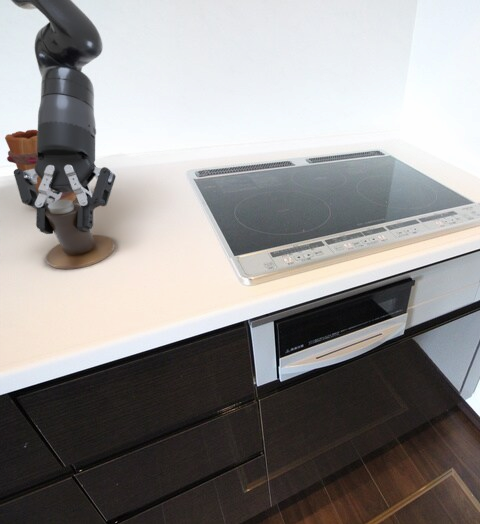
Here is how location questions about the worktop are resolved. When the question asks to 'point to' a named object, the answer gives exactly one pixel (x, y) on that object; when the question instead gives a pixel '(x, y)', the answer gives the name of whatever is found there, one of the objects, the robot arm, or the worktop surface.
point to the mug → (28, 155)
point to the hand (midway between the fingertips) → (65, 231)
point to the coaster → (72, 261)
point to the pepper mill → (68, 227)
